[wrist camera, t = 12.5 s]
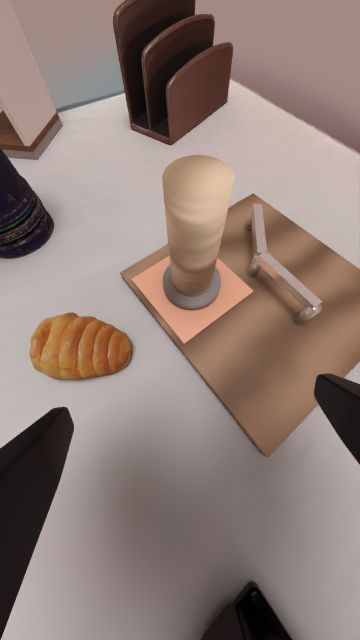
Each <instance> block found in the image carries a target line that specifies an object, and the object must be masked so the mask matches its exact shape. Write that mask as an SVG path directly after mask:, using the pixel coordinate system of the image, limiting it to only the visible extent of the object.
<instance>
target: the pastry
mask: <svg viewBox="0 0 360 640" xmlns="http://www.w3.org/2000/svg"><path fill="white" fill-rule="evenodd" d="M131 354H132V351H131V341H130V340H129V338H128V336H127V334H126V333H124V332H122V331H120V330H118V329H116V328H115V327H114V326H112V325H110V324H106V323H104V322H103V321H100V320H98V319H96V318H95V317H89V316H88V317H79V316H77V315H76V314H75V313H67V314H64V315H59V316H55V317H51V318H47V319H45V320H43V321H42V322H41V323H40V324H39V326H38V327H37V328H36V330H35V332H34V334H33V336H32V338H31V348H30V359H31V361H32V363H33V366H34V368H35V369H36V370H37V371H40V372H43V373H46V375H48V376H50V377H52V378H54V379H83V378H88V377H95V376H103V375H108V374H112V373H115V372H117V371H119V370H121V369H123V368H124V367H125V366H126V365H127V364H128V363H129V361H130V358H131Z"/></svg>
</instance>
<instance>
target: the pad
mask: <svg viewBox="0 0 360 640" xmlns="http://www.w3.org/2000/svg"><path fill="white" fill-rule="evenodd" d="M169 265H170V257H169V256H168V257H166V258H165V259H163V260H161V261H160V262H158V263H157V264H155V265H153V266H152V267H150V268H148V269H147V270H145V271H144V272H142V273H140V274H139V275H137V276H135V277H134V278H132V282H133V283H134V284H135V285H136V287H137V288H138V289H139V290H140V292H141V293H142V294H143V295H144V296H145V298H146V299H147V300H148V301H149V303H150V304H151V305H152V306H153V308H154V309H155V310H156V311H157V312H158V314H159V315H160V316H161V317H162V319H163V320H164V321H165V322H166V324H167V325H168V326H169V327H170V328H171V330H172V331H173V332H174V333H175V335H176V336H177V337H178V338H179V340H180V341H181V342H182V343H183V344H184V345H185V344H186V343H187V342H189V341H190V340H191V339H193V338H194V337H195V336H197V335H198V334H199V333H201V332H202V331H203V330H205V329H206V328H207V327H209V326H210V325H211V324H213V323H214V322H215V321H217V320H218V319H219V318H221V317H222V316H223V315H224V314H226V313H227V312H228V311H230V310H231V309H232V308H234V307H235V306H236V305H238V304H239V303H240V302H242V301H243V300H244V299H246V298H247V297H248V296H250V295H251V294H252V293H253V292H254V291H253V290H252V289H251V288H250V287H249V286H248V285H247V284H246V283H244V282H243V281H242V280H241V279H240V278H239V277H238V276H237V275H236V274H235V273H234V272H233V271H231V270H230V269H229V268H228V267H227V266H226V265H225V264H224V263H223V262H222V261H221V260H220V259H219V258H217V261H216V266H215V267H216V268H217V269H218V271H219V273H220V276H221V286H220V290H219V293H218V295H217V297H216V299H215V300H214V301H213V302H212V303H211V304H210V305H209V306H207V307H205V308H203V309H199V310H184V309H181V308H178V307H176V306H175V305H173V304H172V303H171V302H170V301H169V300H168V299H167V297H166V295H165V292H164V288H163V274H164V272H165V270H166V268H167V267H168V266H169Z"/></svg>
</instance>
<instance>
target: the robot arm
mask: <svg viewBox="0 0 360 640" xmlns="http://www.w3.org/2000/svg"><path fill="white" fill-rule="evenodd" d="M314 397H315V399H316V401H317V402H318V404H319V406H320V407H321V409H322V410H323V412H324V414H325V415H326V417H327V418H328V420H329V421H330V423H331V425H332V426H333V428H334V429H335V431H336V433H337V434H338V436H339V437H340V439H341V440H342V441H343V443H344V444H345V446H346V447H347V448H348V450H349V451H350V452H351V454H352V455H353V456H354V458H355V459H356V460H357V462H358V463H359V464H360V384H357V383H355V382H352V381H350V380H347V379H344V378H342V377H339V376H337V375H334V374H331V373H325V374H319V375H318V376H317V377H316V382H315V387H314ZM73 431H74V424H73V421H72V418H71V416H70V413H69V410H68V408H66V407H58V408H53V409H52V410H50V411H49V412H48V413H46V414H45V415H44V416H42V417H41V418H40V419H38V420H37V421H36V422H35V423H33V424H32V425H31V426H29V427H28V428H27V429H25V430H24V431H23V432H21V433H20V434H19V435H17V436H16V437H15V438H14V439H12V440H11V441H10V442H8V443H7V444H6V445H4V446H3V447H2V448H0V640H1V638H2V635H3V632H4V630H5V627H6V624H7V621H8V619H9V616H10V613H11V611H12V608H13V605H14V603H15V600H16V597H17V595H18V592H19V589H20V587H21V584H22V581H23V578H24V576H25V573H26V570H27V568H28V565H29V562H30V560H31V557H32V554H33V552H34V549H35V546H36V544H37V541H38V538H39V535H40V533H41V530H42V527H43V525H44V522H45V519H46V517H47V514H48V511H49V509H50V506H51V503H52V501H53V498H54V495H55V493H56V490H57V487H58V484H59V481H60V478H61V475H62V472H63V468H64V464H65V461H66V457H67V453H68V450H69V446H70V442H71V439H72V435H73ZM253 592H257V595H256V597H252V593H253ZM203 640H293V639H292V638H291V636H290V634H289V633H288V631H287V630H286V628H285V627H284V625H283V624H282V622H281V620H280V619H279V617H278V616H277V614H276V613H275V611H274V610H273V608H272V606H271V605H270V603H269V602H268V600H267V599H266V597H265V596H264V594H263V592H262V591H261V589H260V588H259V586H258V585H257V584H256V583H254V582H251V583H249V584H248V585H247V587H246V588H245V589H244V590H243V591H242V593H241V594H240V595H239V596H238V597H237V599H236V600H235V601H234V602H233V603H232V604H228V606H227V607H226V608H225V609H224V611H223V612H222V613H221V614H220V615H219V617H218V618H217V619H216V620H215V621H214V623H213V624H212V625H211V626H210V627H209V629H208V630H207V631H206V632H205V634H204V635H203Z"/></svg>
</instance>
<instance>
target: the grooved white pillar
mask: <svg viewBox="0 0 360 640" xmlns="http://www.w3.org/2000/svg"><path fill="white" fill-rule="evenodd" d="M0 106H1V107H2V109H3V111H2V112H1V113H0V147H1V149H2V150H3V152H4V153H5V155H6V156H7V157H12V158H23V159H35V160H38V158H39V157H40V156H41V154H42V153H43V152H44V150H45V149H46V147H47V146H48V145H49V143H50V142H51V141H52V139H53V138H54V136H55V135H56V134H57V132H58V131H59V130H60V128H61V127H62V126H63V125H62V123H61V121H60V118H59V116H58V114H57V111H56V109H55V107H54V104H53V102H52V100H51V97H50V95H49V93H48V90H47V88H46V86H45V83H44V81H43V79H42V76H41V74H40V72H39V69H38V67H37V64H36V62H35V60H34V57H33V55H32V53H31V50H30V48H29V46H28V43H27V41H26V39H25V36H24V34H23V32H22V29H21V27H20V25H19V22H18V20H17V18H16V15H15V13H14V11H13V8H12V6H11V4H10V1H9V0H0Z"/></svg>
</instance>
